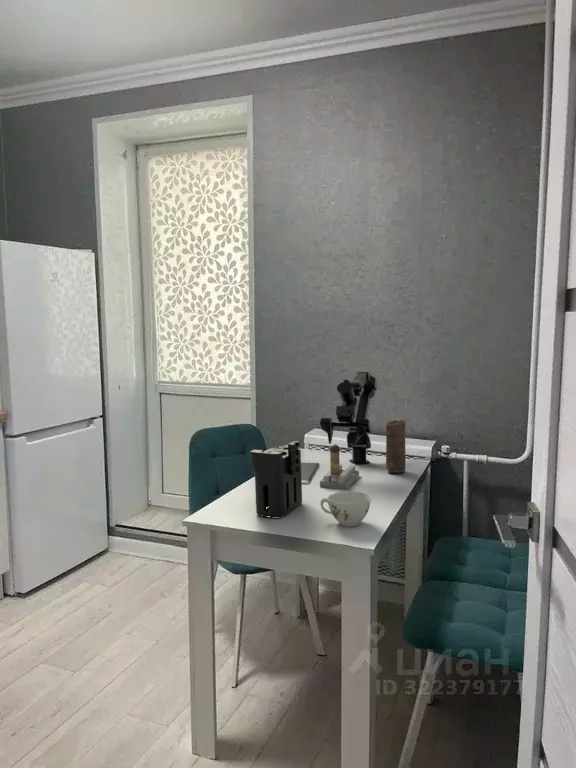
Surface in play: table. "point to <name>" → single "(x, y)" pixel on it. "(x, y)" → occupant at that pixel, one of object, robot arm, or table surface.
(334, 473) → the lever
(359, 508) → the teacup
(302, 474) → the smartphone
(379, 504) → the table surface
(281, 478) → the black machined bracket
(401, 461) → the candle
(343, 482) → the slider console
